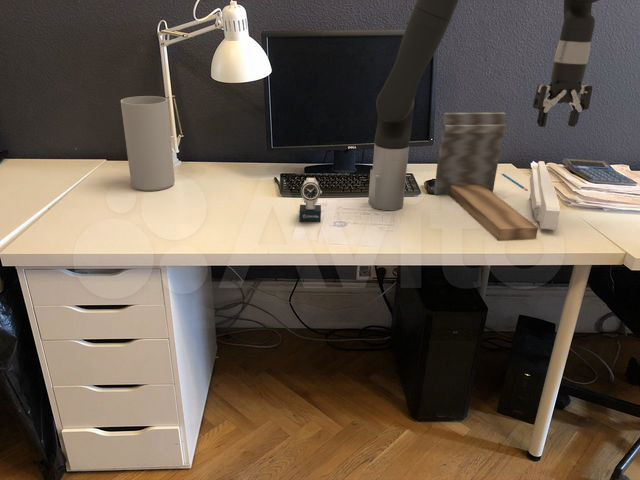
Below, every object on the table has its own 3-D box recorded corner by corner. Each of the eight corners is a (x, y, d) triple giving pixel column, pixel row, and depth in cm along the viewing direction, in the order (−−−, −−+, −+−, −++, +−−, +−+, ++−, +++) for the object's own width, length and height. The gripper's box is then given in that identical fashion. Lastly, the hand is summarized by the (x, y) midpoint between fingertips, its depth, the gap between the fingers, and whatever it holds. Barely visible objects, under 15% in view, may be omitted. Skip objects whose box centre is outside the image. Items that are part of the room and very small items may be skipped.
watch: (299, 225, 137) (299, 184, 132) (300, 213, 144) (300, 173, 139) (321, 225, 137) (322, 184, 132) (320, 213, 144) (322, 174, 139)
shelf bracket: (541, 199, 159) (551, 162, 152) (552, 250, 140) (565, 210, 132) (521, 198, 160) (531, 160, 153) (530, 248, 140) (542, 208, 133)
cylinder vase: (122, 188, 158) (110, 101, 147) (149, 175, 168) (139, 94, 158) (158, 194, 154) (148, 106, 143) (183, 181, 164) (176, 98, 154)
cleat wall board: (483, 241, 131) (499, 144, 121) (433, 193, 161) (443, 112, 151) (550, 237, 134) (572, 143, 124) (489, 191, 164) (503, 112, 154)
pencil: (525, 191, 166) (525, 189, 165) (499, 174, 181) (499, 172, 181) (527, 191, 166) (528, 189, 166) (501, 174, 181) (501, 172, 181)
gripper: (553, 62, 127) (539, 130, 134) (606, 62, 129) (590, 129, 136) (536, 58, 134) (523, 123, 140) (587, 59, 136) (572, 122, 143)
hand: (556, 126), depth 138 cm, fingers open, 8 cm apart
